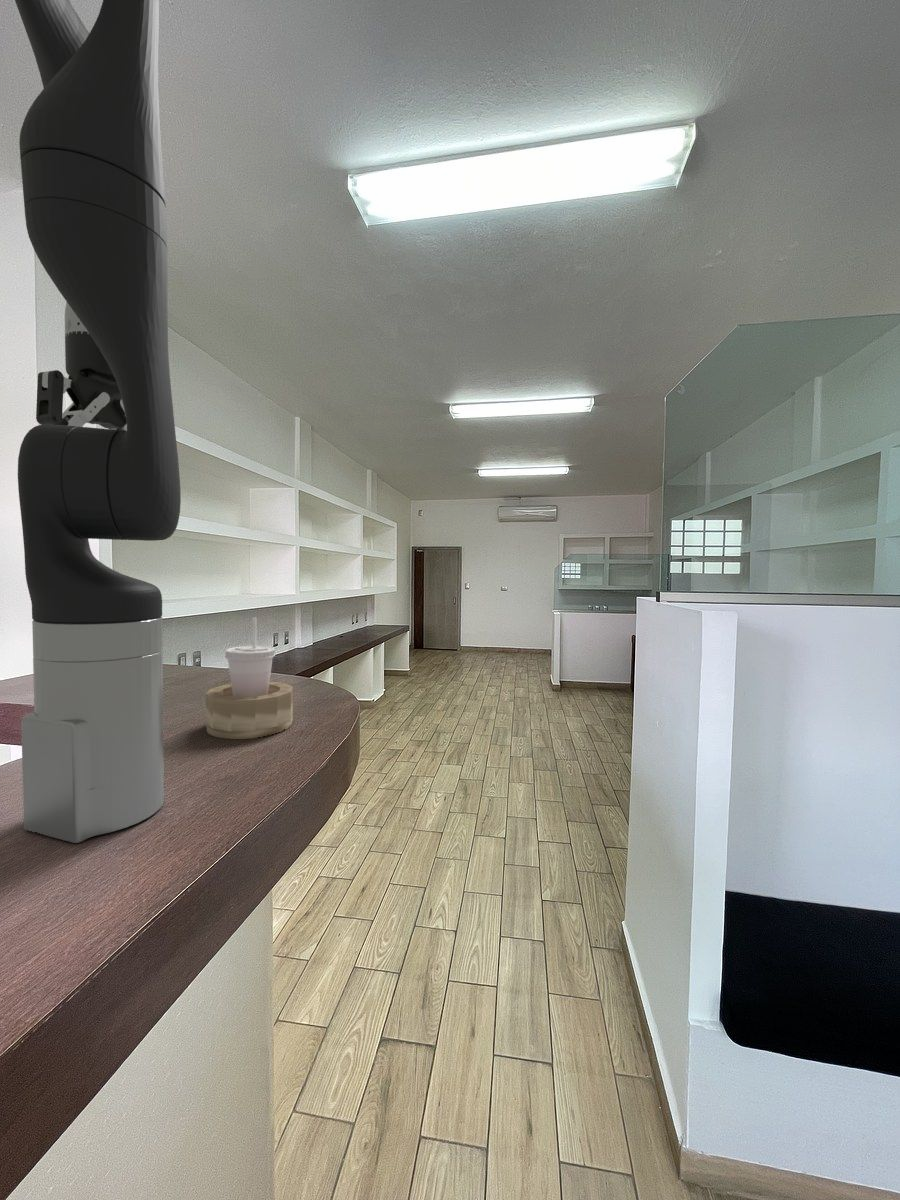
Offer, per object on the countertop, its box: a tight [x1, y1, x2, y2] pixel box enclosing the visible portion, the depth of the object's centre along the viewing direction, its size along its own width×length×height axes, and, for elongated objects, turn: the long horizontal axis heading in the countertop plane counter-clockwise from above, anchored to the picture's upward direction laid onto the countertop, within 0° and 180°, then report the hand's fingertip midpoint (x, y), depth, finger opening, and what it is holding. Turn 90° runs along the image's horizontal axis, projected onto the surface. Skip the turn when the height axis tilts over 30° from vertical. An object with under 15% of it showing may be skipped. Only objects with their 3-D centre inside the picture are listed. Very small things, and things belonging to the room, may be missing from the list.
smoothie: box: [224, 616, 276, 697], centre depth 70 cm, size 6×6×14 cm
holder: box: [205, 681, 294, 740], centre depth 70 cm, size 11×11×5 cm
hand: (104, 474), depth 64 cm, fingers open, 8 cm apart
